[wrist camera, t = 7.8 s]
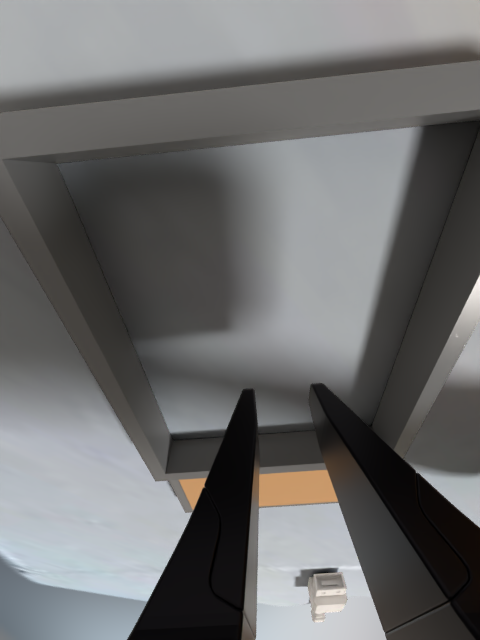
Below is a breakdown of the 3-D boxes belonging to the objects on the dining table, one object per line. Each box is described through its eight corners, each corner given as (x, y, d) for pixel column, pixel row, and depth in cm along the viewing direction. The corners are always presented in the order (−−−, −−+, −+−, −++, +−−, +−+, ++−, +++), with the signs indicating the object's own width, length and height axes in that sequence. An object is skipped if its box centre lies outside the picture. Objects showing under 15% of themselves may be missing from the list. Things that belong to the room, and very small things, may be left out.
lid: (379, 438, 16) (388, 455, 15) (358, 486, 19) (365, 503, 18) (166, 453, 16) (161, 471, 15) (187, 498, 20) (185, 514, 19)
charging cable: (303, 605, 49) (307, 630, 47) (309, 566, 33) (316, 600, 31) (326, 604, 49) (331, 628, 47) (342, 563, 33) (352, 597, 30)
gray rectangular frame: (526, 78, 6) (632, 43, 5) (381, 432, 15) (399, 464, 14) (16, 133, 7) (-57, 118, 5) (164, 448, 16) (155, 481, 14)
